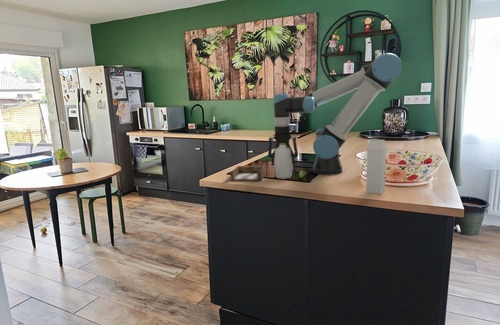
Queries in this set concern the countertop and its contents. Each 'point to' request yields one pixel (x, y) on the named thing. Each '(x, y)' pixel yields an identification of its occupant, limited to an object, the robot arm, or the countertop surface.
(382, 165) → the milk
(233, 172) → the brown tray
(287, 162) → the white bottle
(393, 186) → the countertop surface
